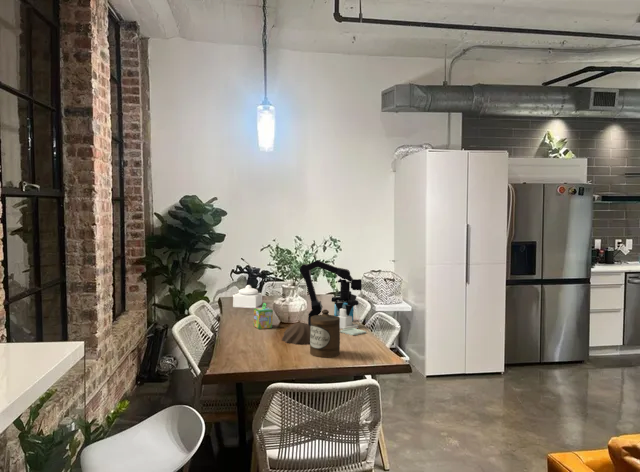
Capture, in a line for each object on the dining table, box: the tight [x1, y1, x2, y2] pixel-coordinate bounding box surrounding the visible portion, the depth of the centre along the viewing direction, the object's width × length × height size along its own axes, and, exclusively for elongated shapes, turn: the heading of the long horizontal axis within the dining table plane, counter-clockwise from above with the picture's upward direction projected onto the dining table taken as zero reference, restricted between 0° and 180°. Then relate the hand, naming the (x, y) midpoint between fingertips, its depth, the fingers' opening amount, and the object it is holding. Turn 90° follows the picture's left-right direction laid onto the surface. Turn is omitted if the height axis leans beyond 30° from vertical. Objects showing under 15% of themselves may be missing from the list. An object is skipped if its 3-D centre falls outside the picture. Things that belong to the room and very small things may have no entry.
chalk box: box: [253, 302, 274, 330], centre depth 299 cm, size 9×9×15 cm
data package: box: [333, 302, 355, 322], centre depth 322 cm, size 12×4×12 cm, turn 101°
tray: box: [340, 328, 367, 336], centre depth 290 cm, size 11×11×1 cm
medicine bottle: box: [338, 308, 353, 330], centre depth 303 cm, size 7×7×12 cm
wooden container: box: [309, 308, 341, 358], centre depth 244 cm, size 15×15×22 cm
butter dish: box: [232, 284, 263, 309], centre depth 372 cm, size 18×18×16 cm
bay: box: [342, 322, 360, 330], centre depth 303 cm, size 13×13×2 cm
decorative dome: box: [281, 321, 311, 345], centre depth 270 cm, size 19×20×10 cm
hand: (344, 314), depth 303 cm, fingers closed on medicine bottle, 6 cm apart
